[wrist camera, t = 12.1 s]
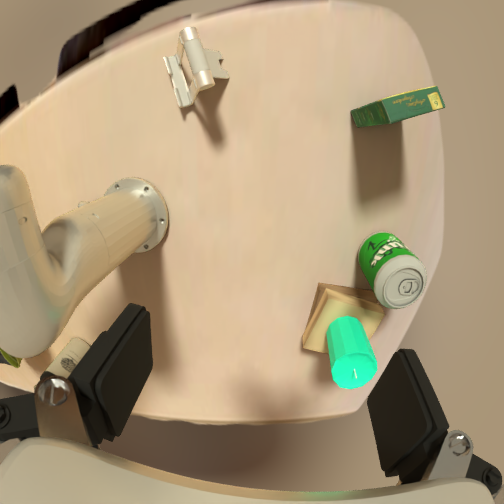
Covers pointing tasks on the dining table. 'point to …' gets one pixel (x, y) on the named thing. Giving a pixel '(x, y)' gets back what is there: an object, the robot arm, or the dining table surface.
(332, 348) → the candle
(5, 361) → the dark slate chunk
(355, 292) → the tan flat block
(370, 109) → the coffee box
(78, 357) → the travel mug
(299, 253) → the dining table surface
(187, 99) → the portable electronic device stand
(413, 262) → the soda can
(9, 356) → the plant pot
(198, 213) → the dining table surface
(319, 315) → the oak block
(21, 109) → the dining table surface
